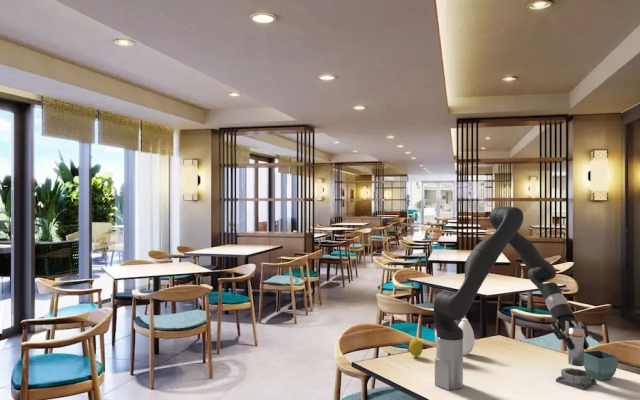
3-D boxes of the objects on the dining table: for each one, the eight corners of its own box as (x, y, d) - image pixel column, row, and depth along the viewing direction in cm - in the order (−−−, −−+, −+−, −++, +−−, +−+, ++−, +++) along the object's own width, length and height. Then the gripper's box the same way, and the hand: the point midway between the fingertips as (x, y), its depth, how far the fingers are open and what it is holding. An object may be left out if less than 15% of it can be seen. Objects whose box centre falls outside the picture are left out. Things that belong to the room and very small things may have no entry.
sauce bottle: (477, 354, 209) (477, 313, 209) (467, 358, 204) (467, 315, 204) (461, 350, 215) (462, 309, 215) (451, 354, 210) (451, 312, 210)
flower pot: (599, 383, 177) (599, 358, 177) (580, 375, 186) (580, 351, 186) (618, 381, 180) (619, 357, 180) (599, 373, 188) (599, 349, 188)
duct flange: (584, 390, 170) (584, 379, 170) (555, 381, 178) (555, 371, 178) (596, 383, 177) (596, 373, 177) (568, 375, 185) (568, 366, 185)
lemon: (413, 354, 209) (413, 335, 209) (424, 357, 206) (424, 338, 206) (406, 357, 205) (406, 338, 205) (418, 360, 201) (418, 341, 201)
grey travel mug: (580, 367, 174) (580, 331, 174) (564, 363, 178) (564, 328, 178) (587, 364, 177) (587, 328, 177) (571, 360, 182) (572, 325, 182)
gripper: (546, 303, 184) (566, 344, 172) (580, 302, 186) (603, 343, 174) (537, 314, 189) (556, 354, 177) (571, 312, 191) (592, 353, 179)
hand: (579, 348), depth 176 cm, fingers closed on grey travel mug, 5 cm apart
